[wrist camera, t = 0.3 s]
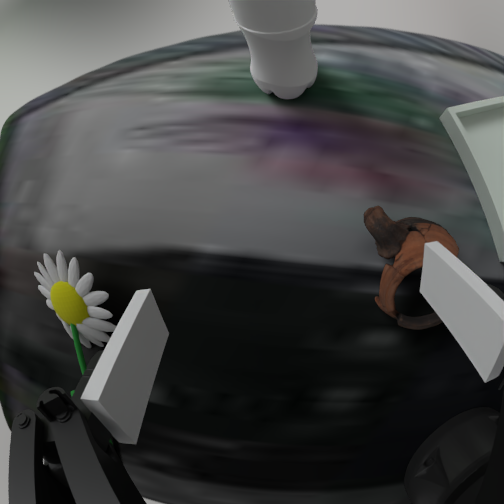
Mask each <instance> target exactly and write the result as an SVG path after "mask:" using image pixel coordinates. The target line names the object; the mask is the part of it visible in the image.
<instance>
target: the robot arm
mask: <svg viewBox="0 0 504 504" xmlns="http://www.w3.org/2000/svg"><path fill="white" fill-rule="evenodd" d="M420 293H421V294H422V295H423V296H424V298H425V299H426V300H427V302H428V303H429V304H430V305H431V307H432V308H433V309H434V311H435V312H436V313H437V314H438V316H439V317H440V318H441V320H442V321H443V322H444V324H445V325H446V326H447V328H448V329H449V331H450V332H451V333H452V335H453V336H454V337H455V339H456V340H457V342H458V343H459V344H460V346H461V347H462V349H463V350H464V352H465V353H466V355H467V356H468V357H469V359H470V360H471V362H472V363H473V365H474V366H475V368H476V369H477V371H478V372H479V374H480V376H481V377H482V379H483V380H484V382H485V383H486V382H488V381H490V380H492V379H494V378H496V377H498V376H499V374H500V372H501V370H502V368H503V366H504V293H502V292H501V291H500V290H499V289H498V288H496V287H494V286H492V285H490V284H488V285H487V284H486V283H484V282H483V281H482V280H481V279H480V278H479V277H478V276H477V275H476V274H475V273H474V272H473V271H471V270H470V269H469V268H468V267H467V266H466V265H465V264H464V263H462V262H461V261H460V260H459V259H458V258H457V257H456V256H454V255H453V254H452V253H451V252H450V251H449V250H447V249H446V248H445V247H444V246H443V245H441V244H440V243H439V242H438V241H435V242H429V243H425V246H424V258H423V268H422V277H421V285H420ZM168 335H169V333H168V330H167V328H166V326H165V323H164V321H163V319H162V316H161V314H160V311H159V309H158V306H157V304H156V302H155V299H154V297H153V294H152V291H151V289H146V290H138V291H136V292H135V294H134V296H133V298H132V299H131V301H130V303H129V305H128V307H127V308H126V310H125V312H124V314H123V316H122V317H121V319H120V321H119V323H118V325H117V327H116V328H115V330H114V332H113V334H112V336H111V338H110V340H109V342H108V344H107V345H106V347H105V349H104V351H98V352H97V353H96V354H95V355H94V356H93V357H92V358H91V360H90V362H89V364H88V366H87V368H86V369H87V370H85V371H84V373H83V377H81V379H80V381H79V383H78V385H77V387H76V389H75V391H74V393H73V396H72V398H71V399H70V397H69V396H68V395H67V394H66V392H65V391H64V390H63V389H62V388H60V387H52V388H50V389H48V390H46V391H45V392H43V393H42V395H41V396H40V397H39V399H38V401H37V409H38V410H39V411H40V412H41V413H42V414H43V415H44V416H45V417H38V416H37V415H36V414H35V413H34V412H33V411H31V410H24V411H21V412H20V413H19V414H18V415H17V416H16V417H15V419H14V421H13V425H12V433H11V444H10V456H9V457H10V458H9V504H146V502H145V501H144V499H143V498H142V496H141V494H140V493H139V491H138V490H137V488H136V486H135V485H134V483H133V481H132V480H131V478H130V476H129V475H128V473H127V471H126V469H125V467H124V466H123V464H122V462H121V460H120V458H119V456H118V455H117V453H116V451H115V449H114V447H113V445H112V444H111V443H110V442H109V441H110V438H111V435H112V436H113V437H114V438H115V439H116V440H117V441H118V442H120V443H129V444H136V442H137V439H138V435H139V431H140V428H141V424H142V420H143V417H144V413H145V410H146V406H147V403H148V399H149V396H150V393H151V389H152V386H153V382H154V379H155V376H156V373H157V369H158V366H159V363H160V360H161V357H162V353H163V350H164V347H165V344H166V341H167V338H168ZM503 385H504V378H503V380H502V382H501V384H500V385H499V388H498V390H500V389H501V388H502V386H503ZM43 459H44V460H45V461H44V465H43ZM404 486H405V489H406V492H407V494H408V497H409V499H410V500H411V502H412V503H413V504H504V389H503V397H502V404H501V410H500V413H499V412H498V411H496V410H495V409H493V408H489V407H478V408H473V409H470V410H467V411H465V412H462V413H460V414H458V415H456V416H455V417H453V418H451V419H450V420H448V421H447V422H445V423H444V424H443V425H441V426H440V427H439V428H438V429H436V430H435V431H434V432H433V433H432V434H431V435H430V436H429V437H428V438H427V439H426V440H425V441H424V442H423V443H422V444H421V446H420V447H419V448H418V449H417V451H416V452H415V454H414V455H413V457H412V458H411V460H410V462H409V464H408V466H407V469H406V472H405V476H404Z"/></svg>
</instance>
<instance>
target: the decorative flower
mask: <svg viewBox="0 0 504 504" xmlns="http://www.w3.org/2000/svg"><path fill="white" fill-rule="evenodd" d="M56 259H57V267H56V266H55V264H54V262H53V260H52V259H51V258H50V257H49V255H48V254H45V253H44V263H45V266H46V269H47V270H46V269H45V268H44V267H43V265H42V264H41V263H40V262H37V264H38V267H39V269H40V272H41V273H42V275H43V276H44V277H43V276H42V275H40V274H39V273H37V272H34V274H35V276H36V278H37V279H38V281H39V282H40V283H41V284H42V285H43V286H42V285H38V288H39V290H40V291H41V293H42V294H43V295H44V296H45V297H46V298H48V299H47V300H46V302H47V305H48V307H50V308H51V309H53V310H55V311H56V314H57V316H58V318H59V319H60V320H61V321H62V323H63V325H64V327H65V329H66V331H67V332H68V334H69V335H70V336H71V338H72V339H73V340H74V344H75V348H76V352H77V356H78V360H79V364H80V367H81V371H82V374H83V373H84V371H85V370H87V369H86V368H87V367H86V363H85V359H84V355H83V351H82V347H81V343H82V344H83V345H84V346H86V347H87V348H91V347H92V346H91V343H90V341H91V342H92V343H94V344H96V345H98V346H100V347H104V344H103V343H102V342H101V341H103V342H109V340H110V337H109V336H108V335H107V334H106V333H105V332H114V330H115V328H116V326H115V325H113V324H112V323H110V322H107V321H104V320H101V319H109V318H112V316H113V315H112V314H111V313H110V312H109V311H107V310H105V309H103V308H99V307H95V306H97V305H99V304H101V303H104V302H105V301H106V300H107V299H108V296H109V294H107V293H106V292H105V291H94V292H89V291H90V289H91V287H92V284H93V280H94V278H93V275H92V274H91V273H87V274H86V275H84V276H83V277H82V278H81V279H80V280H79V271H80V270H79V264H78V261H77V259H76V258H75V257H74V258H72V260H71V262H70V263H69V269H68V270H67V265H66V261H65V258H64V255H63V253H62V252H61V251H60V250H59V251H58V254H57V258H56ZM47 271H48V272H47ZM92 317H93V318H92ZM97 318H98V319H97ZM68 324H69V325H70V326H69V325H68ZM103 331H105V332H103ZM80 342H81V343H80ZM73 393H74V390H73V391H71V396H73ZM109 442H110V443H111V444H112V442H111V439H110V441H109ZM112 445H113V444H112Z"/></svg>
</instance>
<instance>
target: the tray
mask: <svg viewBox="0 0 504 504" xmlns="http://www.w3.org/2000/svg"><path fill="white" fill-rule="evenodd" d="M439 119H440V121H441V122H442V124H443V126H444V127H445V129H446V131H447V133H448V135H449V137H450V138H451V140H452V142H453V144H454V146H455V148H456V150H457V152H458V154H459V156H460V158H461V160H462V162H463V164H464V166H465V168H466V170H467V173H468V175H469V177H470V179H471V182H472V184H473V186H474V189H475V191H476V193H477V196H478V198H479V201H480V203H481V206H482V209H483V211H484V214H485V217H486V219H487V222H488V225H489V228H490V231H491V234H492V237H493V240H494V244H495V247H496V250H497V254H498V257H499V261H500V262H504V96H502V97H496V98H491V99H486V100H481V101H476V102H472V103H467V104H463V105H458V106H454V107H450V108H447V109H446V110H445V111H444V113H443V114H442V115H441V117H440V118H439Z"/></svg>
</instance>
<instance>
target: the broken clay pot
mask: <svg viewBox="0 0 504 504" xmlns="http://www.w3.org/2000/svg"><path fill="white" fill-rule="evenodd" d="M364 223H365V226H366V228H367V229H368V231H369V232H370V233H371V235H372V236H373V237H374V239H375V240H376V242H375V244H376V245H377V246H378V247H377V250H378V254H379V255H380V256H381V257H384V258H386V259H390V258H393V257H394V256H395V262H394V264H393V265H390V264H385V267H384V270H383V274H382V278H381V281H380V291H379V297H378V296H376V297H375V301H376V303H377V304H378V306H379V307H380V308H381V309H382V310H383V311H384V312H385V313H386V314H388V315H390V316H391V317H393V318H395V319H397V322H398V325H400V326H402V327H404V328H408V329H414V330H419V329H420V330H421V329H426V328H429V327H433V326H436V325H439V324H440V323H441V322H443V321H442V320H441V318H440V317H439V316H438V314H437V313H436V312H433V313H432V314H429V315H424V316H420V317H410V316H406V315H403V314H402V313H399V312H398V311H397V310H396V309H395V302H394V297H395V293H396V290H397V288H398V286H399V284H400V283H401V281H402V280H403V279H404V277H405V276H407V275H408V274H409V273H411V272H412V271H414V270H416V269H419V268H422V267H423V258H424V246H425V243H429V242H435V241H438V242H439V243H440V244H441V245H443V246H444V247H445V248H446V249H447V250H449V251H450V252H451V253H452V254H453V255H454V256H456V257H457V255H458V251H459V248H458V246H457V244H456V241H455V240H454V239H453V237H452V236H451V235H450V234H449V233H448V231H447V230H446V229H444V228H443V227H442V226H440V225H439V224H436V223H434V222H432V221H428V220H424V219H422V218H416V217H408V218H404V219H401V220H399V221H397V222H395V221H392V220H391V219H390V218H389V217H388V216H387V215H386V214H385V212H384V211H383V209H382V208H381V207H380V206H376V207H373V208H369V209H368V210H367V211H366V212H365V213H364ZM409 229H412V230H414V231H408V230H409ZM462 263H463V262H462Z"/></svg>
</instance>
